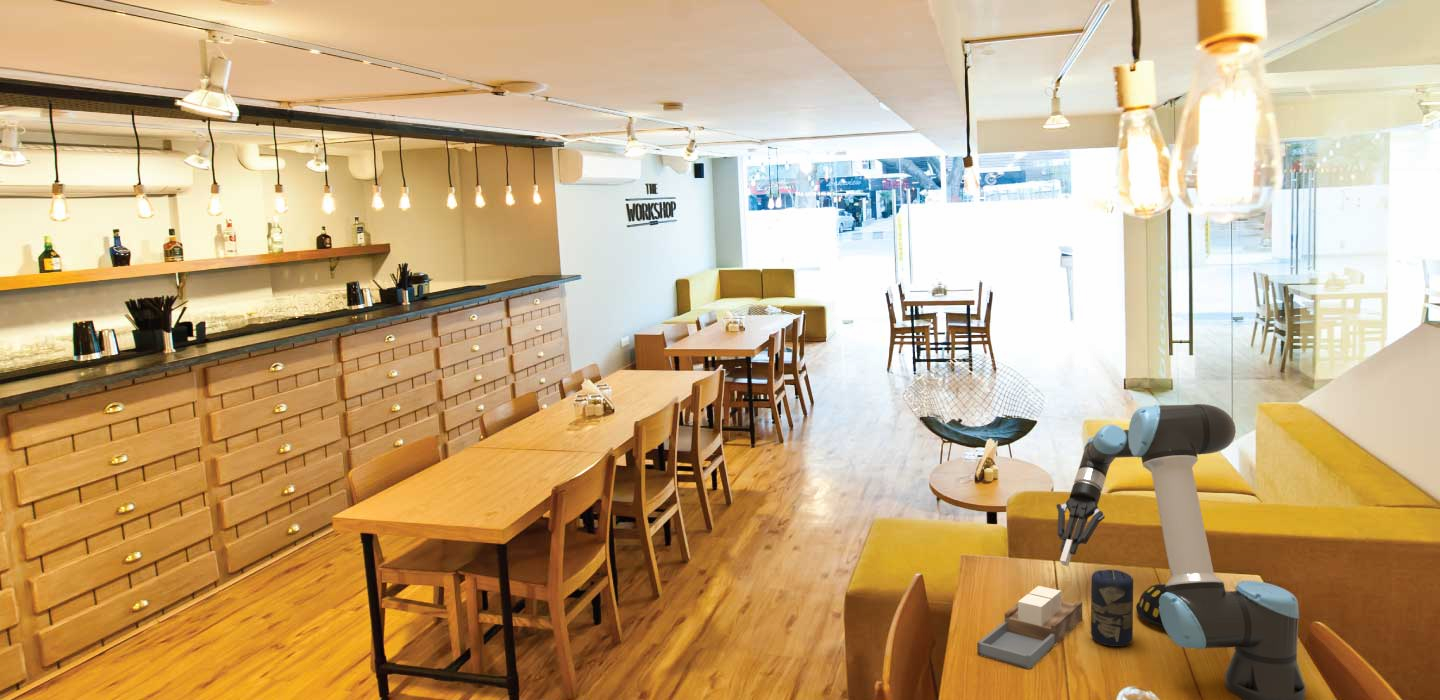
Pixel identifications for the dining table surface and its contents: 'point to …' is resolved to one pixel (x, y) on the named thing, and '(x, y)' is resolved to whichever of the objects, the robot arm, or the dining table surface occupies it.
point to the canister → (1112, 607)
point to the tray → (1014, 647)
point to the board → (1055, 625)
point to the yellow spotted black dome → (1151, 604)
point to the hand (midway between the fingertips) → (1064, 563)
